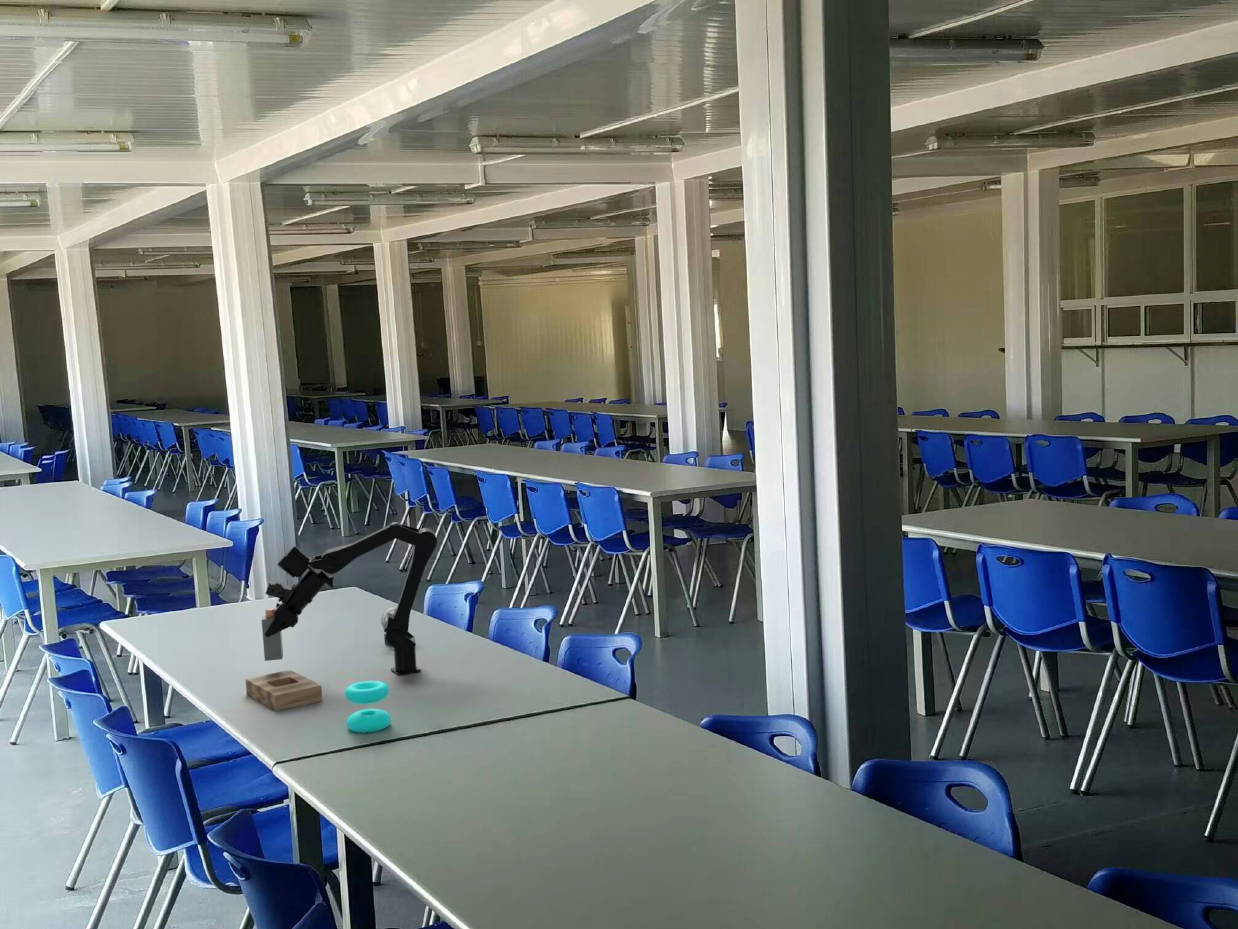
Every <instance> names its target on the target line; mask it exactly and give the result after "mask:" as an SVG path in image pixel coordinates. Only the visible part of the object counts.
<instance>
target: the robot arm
mask: <svg viewBox="0 0 1238 929" xmlns="http://www.w3.org/2000/svg"><path fill="white" fill-rule="evenodd" d="M393 540H399V541H402V542H403V543H407V544H409V545H411V546H413V547H412V558H411V563H410V566H409V568H408V570H407V571H408V572H407V575H406V578H405V581H404V585H403V587H402V590H401V594H400V597H399V600H398V603H397V606H396V607H395V608H396V610H395V612H394V611H393V614H392V613H391V612H390V613H388V615H387V617H386V623H385V625H384V628H383V633H384V634H385V636H386V640H387V642H388V643H389V644H390V645H392V646H393V647H392V648H394V649H393V655H394V657H393V658H394V667H390V671H391V672H393V673H395V674H396V675H398V676H400V675H401V676H402V675H406V674H412V673H417V672H422V669H421V668H420V667H418V666H417V655H416V654H417V651H416V650H417V649H416V645H417V644H416V639H415V638H416V637H415V636H414V635H413V634H412V633H410V632H409V626H410V616H411V611H412V608H413V606H414V602H415V599H416V596H417V594H418V593H417V592H418V590H419V586H420V584H421V580H422V577H423V574H424V570H425V568H426V565H427V564H428V562H429V560H430V559H431V557H432V555H433V554H434V552H435V550H436V548H437V545H438V538H437V535H436V533H435V532H434V530H433V529H431V528H426V527H424V528H420V529H419V528H418V527H413V526H410V525H407V524H406V525H405V524H402V523H400V522H397V521H394V522H391V523H389V524H388V525H387V526H384V527H383V528H380V529H377V530H375V531H374V532H372V533H370V534H368V535H366V536H364V537H362V538H360V539H358V540H355V541H353V542H352V543H349V544H348V543H347V544H346V545H345V544H344V545H339V546H336V547H333V548H329V549H326V550H325V551H324V552H323V553H322V554H318V555H315V556H314V555H313V556H308V555H306V554H305V553H304V552H302V550H301V549H300V548H299V547H298V546H297V545H293V546H292V548H291V549H289V551H287V552H286V553H285V554H284V555H283V556H282V557H281V559H280V560H279V561H278V562H277V563H276V565H277V567H279V568H280V569H282V570H283V571H284V572H285V573H286V574H288V575H289V576H290V577H291V578H293V579H294V578H299V579H300V578H301V577H302V576H303V575H304V576H303V577H302V578H301V579H300V580H299V581H298V582H297V583H294V584H293V585H292V586H289V585H288V584H287V585H286V584H284V583H282V582H279V581H275V580H270V581H269V583H268V585H267V588H266V591H265V595H267V596H269V597H271V596H272V597H275V598H278V600H277V601H278V602H279V603H278V602H276V604H275V610H274V616H275V619H274V620H273V622H272V623H271V625H270V627H269V628H268V630H267V632H266V633H265V636H266V637H270V636H272V635H274V634H276V633H278V632H280V631H281V632H282V631H284V630H287V629H288V628H294V627H295V626H296V625H297V624H298V623H299V616H300V615H301V614H302V613H303V611H304V609H305V608H306V607H307V606H308V605H310V604H311V603H312V602H313V600H314V598H315V597H316V596H317V595H318V593H319V592H320V591H321V590H322V589H323V588H324V587H325V586H326V585H327V586H328V587H330V588H331V589H333V588H334V586H335V584H334V579H335V578H334V577H335V576H334V574H337V573H339V572H340V571H341V570H343V569H344V568H345V567H348V565H349V564H351V563H352V561H354V560H356V559H357V558H359V557H361V556H363V555H364V554H366V553H369V552H371V551H372V550H374V549H378V548H380V547H381V546H384V545H385V544H387V543H389V542H392V541H393ZM306 571H307V572H306ZM305 572H306V573H305ZM329 575H330V576H329Z"/></svg>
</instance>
